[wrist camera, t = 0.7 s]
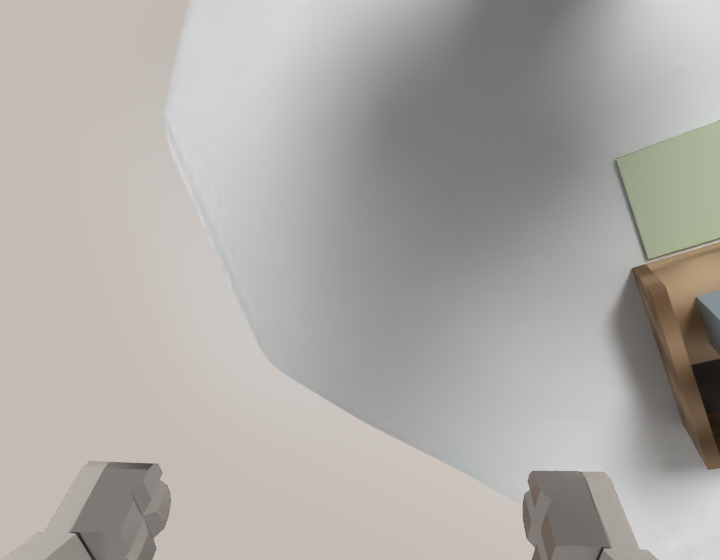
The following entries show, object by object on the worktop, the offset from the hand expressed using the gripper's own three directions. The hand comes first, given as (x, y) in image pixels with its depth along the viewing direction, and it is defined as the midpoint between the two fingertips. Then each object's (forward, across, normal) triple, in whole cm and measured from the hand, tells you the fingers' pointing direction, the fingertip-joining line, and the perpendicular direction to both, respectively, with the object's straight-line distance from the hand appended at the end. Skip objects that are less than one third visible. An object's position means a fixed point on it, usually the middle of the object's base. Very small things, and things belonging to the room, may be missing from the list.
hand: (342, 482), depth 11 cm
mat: (+37, -28, +10) cm, 48 cm away
